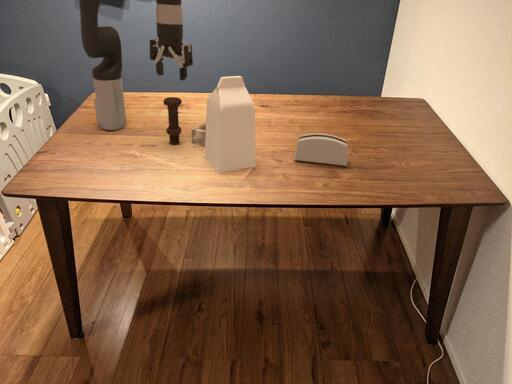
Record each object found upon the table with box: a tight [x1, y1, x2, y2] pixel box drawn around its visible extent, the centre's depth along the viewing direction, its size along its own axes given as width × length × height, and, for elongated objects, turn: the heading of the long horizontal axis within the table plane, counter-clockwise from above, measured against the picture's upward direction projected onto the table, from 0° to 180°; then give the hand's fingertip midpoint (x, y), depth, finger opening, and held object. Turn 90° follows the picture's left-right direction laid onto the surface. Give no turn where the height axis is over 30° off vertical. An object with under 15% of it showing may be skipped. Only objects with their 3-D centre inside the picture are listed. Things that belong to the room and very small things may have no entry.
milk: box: [204, 75, 256, 174], centre depth 118 cm, size 12×12×26 cm
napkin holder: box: [293, 132, 349, 167], centre depth 125 cm, size 17×5×10 cm, turn 81°
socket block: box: [191, 121, 206, 147], centre depth 137 cm, size 10×12×5 cm
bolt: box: [163, 96, 183, 145], centre depth 132 cm, size 6×5×15 cm
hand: (171, 77), depth 125 cm, fingers open, 8 cm apart
